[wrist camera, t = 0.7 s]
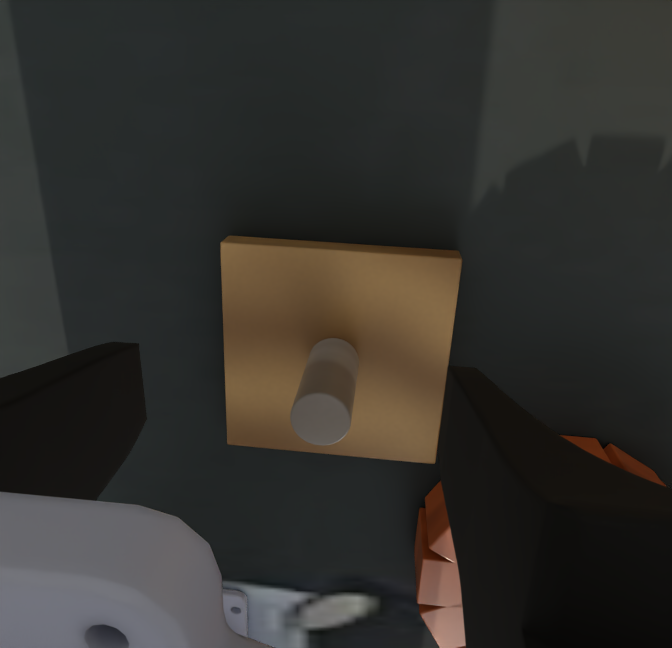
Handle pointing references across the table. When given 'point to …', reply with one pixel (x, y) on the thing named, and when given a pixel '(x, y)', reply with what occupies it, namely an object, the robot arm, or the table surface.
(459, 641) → the ring
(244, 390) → the rack
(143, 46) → the table surface
